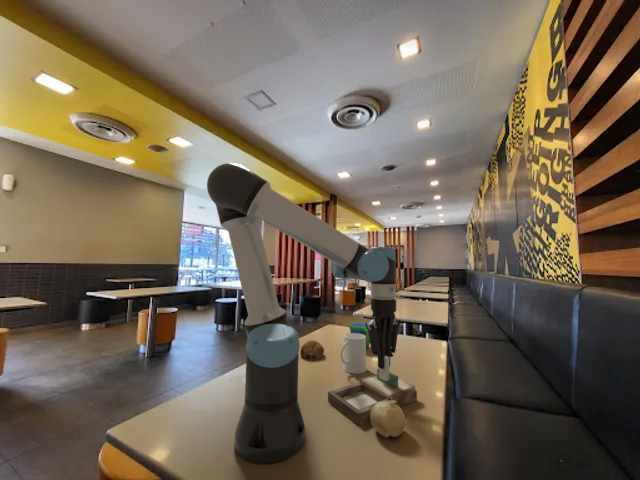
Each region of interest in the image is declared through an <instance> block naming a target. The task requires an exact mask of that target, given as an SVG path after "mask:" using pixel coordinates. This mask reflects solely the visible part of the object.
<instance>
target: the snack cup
mask: <svg viewBox="0 0 640 480" xmlns="http://www.w3.org/2000/svg"><path fill="white" fill-rule="evenodd" d="M366 323H367V322H366ZM366 323H365V322H352V323H349V325H348V328H349V331H350V333H358V334H362V335H365V336H366V349H368V348H370V347H369V346H370V345H371V344H370V339H369V333H368V330H367V328H366V326H365V324H366Z"/></svg>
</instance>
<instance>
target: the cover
mask: <svg viewBox="0 0 640 480" xmlns="http://www.w3.org/2000/svg"><path fill="white" fill-rule="evenodd" d="M376 374H377V376H373V377H370V378H367V379H364V380H361V383H362V384H364V385H366V386H367V387H369V388H371V389H373V390H374V391H376V392H378V393H380V394H381V395H383V396H385V397H387V398H391V395H394V394H397V393H399V392H402V391H405V390H407V389H410V388H413V387H414V388H415V389H416V385H414V384H412V383H409V382H408V381H406V380H404V379H401V378H399V375H397V374H394V373H392V372H390V371H389V380H388V381H385V380H383V379H381V378H379V368H377V369H376Z"/></svg>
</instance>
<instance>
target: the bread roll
mask: <svg viewBox="0 0 640 480" xmlns="http://www.w3.org/2000/svg"><path fill="white" fill-rule="evenodd" d="M299 353H300V356H302V357H303V359H305V358H307V359H306V360H317V358H318V359H321V358H323V356H324V353H325V348H324V346H323V345H322V344H321V343H320V342H319V341H317V340H313V339H311V340H307V341H306V342H304V343H303V344H302V345H301V347H300V350H299ZM302 357H301V358H302Z"/></svg>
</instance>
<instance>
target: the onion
mask: <svg viewBox="0 0 640 480" xmlns="http://www.w3.org/2000/svg"><path fill="white" fill-rule="evenodd" d="M391 399H392V396H391ZM396 403H397V401H396V400H391V401H389V402H388V401H381V402H378V403H376V404H375V405H374V406H373V408H372V410H371V413H370V420H369V421H370V423H371V426H372V428H373V429H374V430H375V432H377V434H378V435H380V436H382V437H384V438H385V439H389V437H392V438H395V439H396V438H397V437H399V436H400V435H401V434H403V432H404V431H405V428H406V427H405V426H406V416H405V413H404V411H403V410H402V407H399V406H398V405H397V404H396Z"/></svg>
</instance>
